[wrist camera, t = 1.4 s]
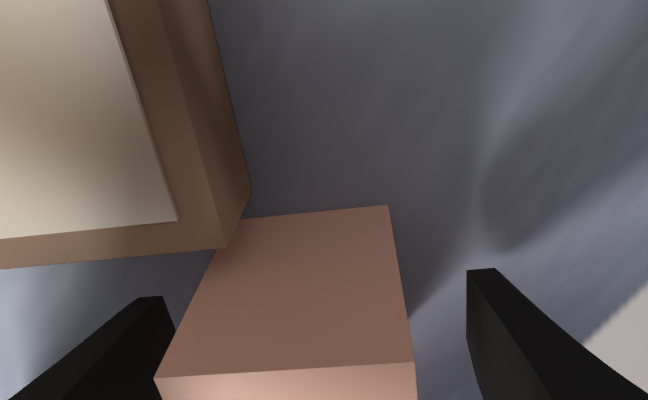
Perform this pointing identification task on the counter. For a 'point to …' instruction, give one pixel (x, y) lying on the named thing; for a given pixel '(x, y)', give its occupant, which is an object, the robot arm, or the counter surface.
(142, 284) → the counter surface
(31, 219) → the walnut foundation
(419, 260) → the counter surface
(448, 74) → the counter surface
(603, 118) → the counter surface
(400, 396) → the terracotta block
